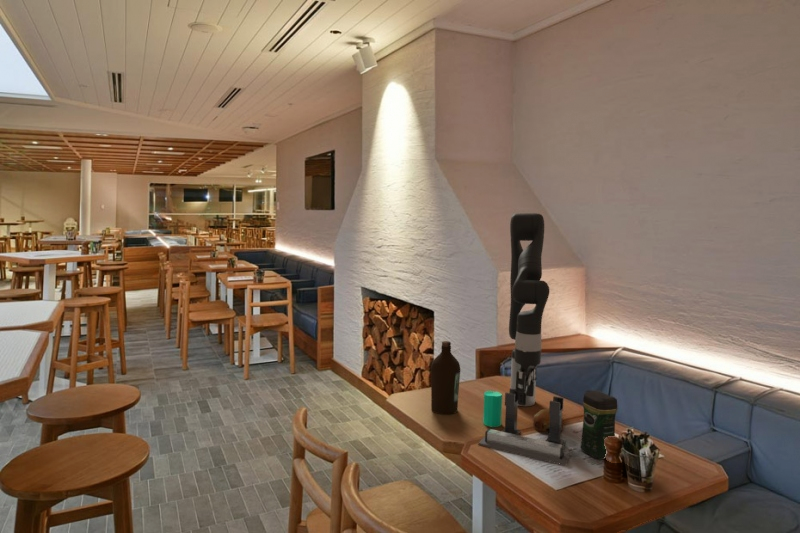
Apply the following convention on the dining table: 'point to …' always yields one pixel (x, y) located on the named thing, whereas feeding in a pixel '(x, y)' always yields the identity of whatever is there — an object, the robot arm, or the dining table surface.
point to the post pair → (554, 412)
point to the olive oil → (445, 381)
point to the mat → (525, 452)
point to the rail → (525, 443)
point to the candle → (492, 408)
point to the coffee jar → (597, 422)
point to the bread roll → (543, 421)
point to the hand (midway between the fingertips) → (525, 400)
